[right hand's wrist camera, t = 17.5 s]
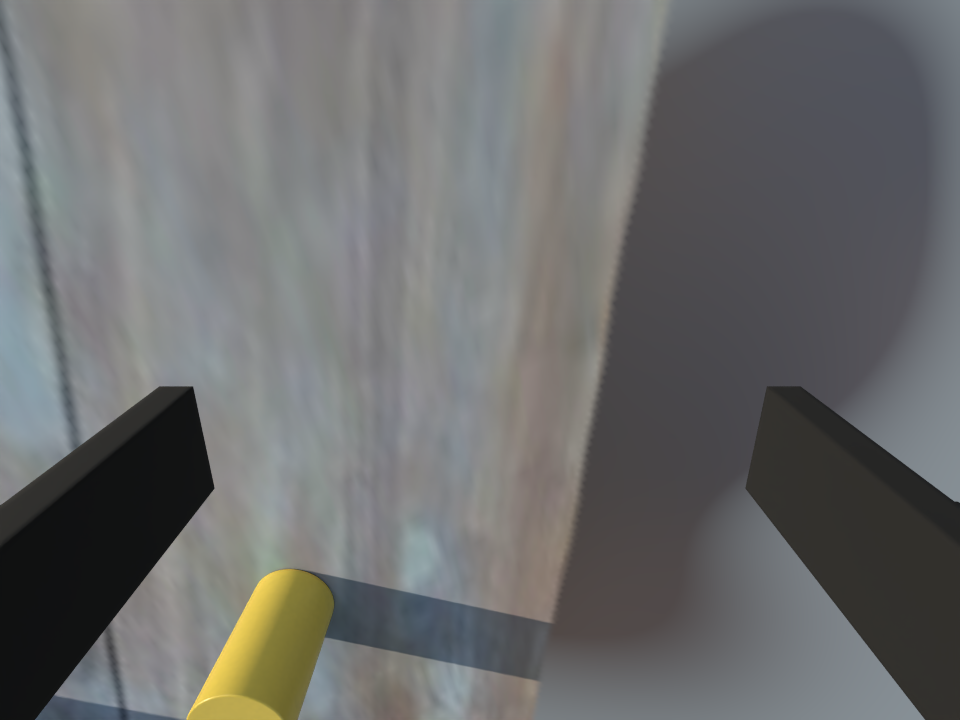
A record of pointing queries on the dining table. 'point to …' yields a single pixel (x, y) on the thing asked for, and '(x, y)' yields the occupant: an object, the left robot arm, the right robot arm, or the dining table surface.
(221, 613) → the dining table surface
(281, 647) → the can
